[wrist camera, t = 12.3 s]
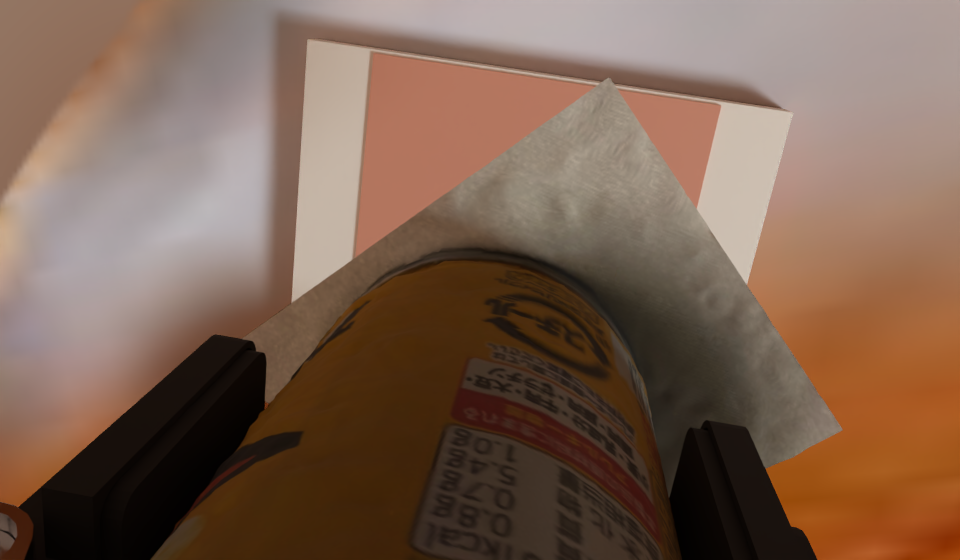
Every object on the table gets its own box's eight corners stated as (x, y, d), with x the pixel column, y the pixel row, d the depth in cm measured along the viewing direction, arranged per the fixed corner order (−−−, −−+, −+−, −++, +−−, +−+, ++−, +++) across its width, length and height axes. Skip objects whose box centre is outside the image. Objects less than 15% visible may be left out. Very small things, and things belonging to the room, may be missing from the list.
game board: (639, 652, 29) (655, 792, 24) (282, 582, 30) (221, 703, 24) (783, 108, 22) (851, 134, 17) (318, 38, 23) (244, 42, 18)
